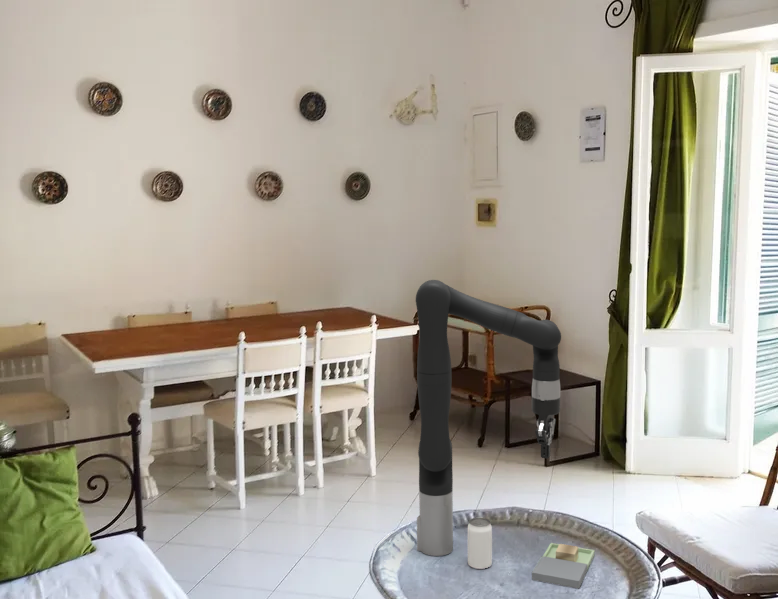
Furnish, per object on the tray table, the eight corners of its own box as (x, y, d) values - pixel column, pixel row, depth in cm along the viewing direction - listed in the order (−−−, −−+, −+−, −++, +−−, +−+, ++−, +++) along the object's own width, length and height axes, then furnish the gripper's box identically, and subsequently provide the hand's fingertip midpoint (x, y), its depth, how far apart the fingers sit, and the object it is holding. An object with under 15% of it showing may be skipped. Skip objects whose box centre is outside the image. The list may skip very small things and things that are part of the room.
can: (491, 570, 214) (490, 527, 213) (466, 569, 216) (466, 525, 214) (492, 559, 221) (492, 517, 219) (468, 558, 222) (468, 515, 220)
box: (542, 562, 218) (542, 557, 218) (550, 547, 227) (550, 542, 227) (587, 570, 213) (587, 565, 213) (594, 555, 222) (594, 550, 222)
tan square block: (555, 561, 218) (555, 551, 217) (559, 554, 222) (559, 543, 222) (574, 565, 215) (574, 554, 215) (578, 557, 220) (578, 546, 220)
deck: (531, 579, 209) (531, 572, 209) (541, 563, 218) (541, 556, 218) (578, 588, 204) (579, 581, 204) (587, 571, 213) (587, 564, 213)
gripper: (538, 388, 226) (538, 448, 228) (525, 399, 214) (525, 463, 217) (565, 390, 223) (564, 451, 225) (553, 402, 211) (553, 467, 213)
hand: (545, 457), depth 221 cm, fingers closed
